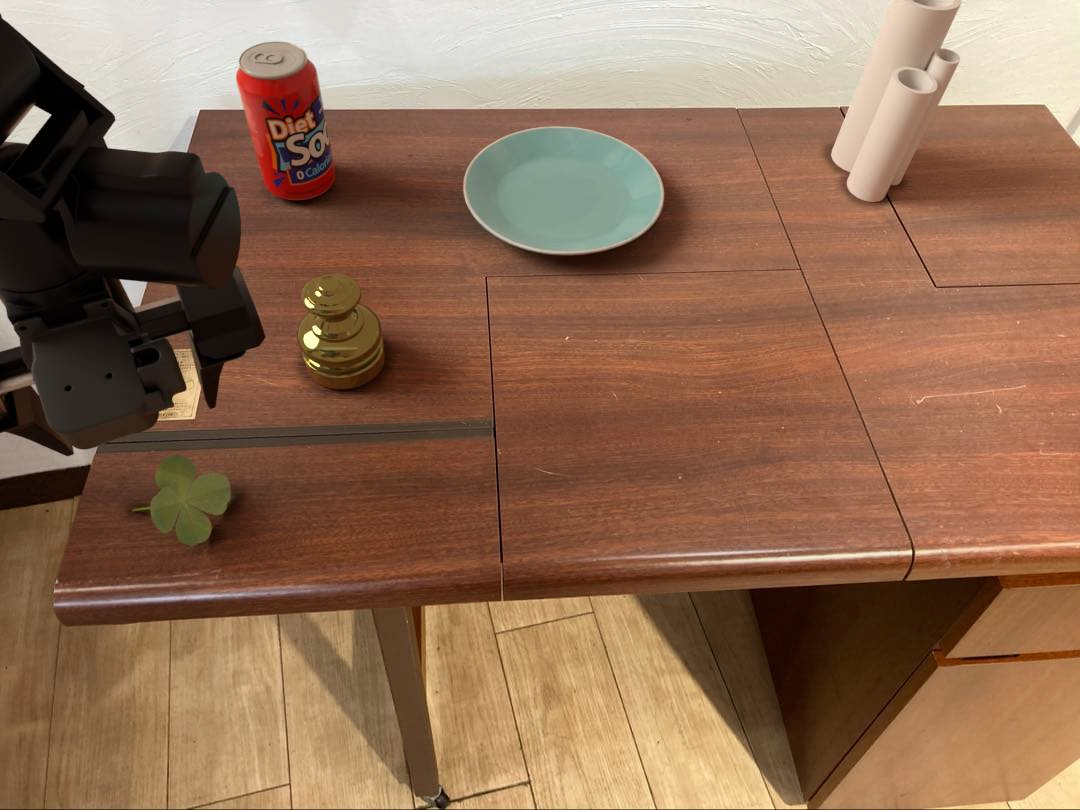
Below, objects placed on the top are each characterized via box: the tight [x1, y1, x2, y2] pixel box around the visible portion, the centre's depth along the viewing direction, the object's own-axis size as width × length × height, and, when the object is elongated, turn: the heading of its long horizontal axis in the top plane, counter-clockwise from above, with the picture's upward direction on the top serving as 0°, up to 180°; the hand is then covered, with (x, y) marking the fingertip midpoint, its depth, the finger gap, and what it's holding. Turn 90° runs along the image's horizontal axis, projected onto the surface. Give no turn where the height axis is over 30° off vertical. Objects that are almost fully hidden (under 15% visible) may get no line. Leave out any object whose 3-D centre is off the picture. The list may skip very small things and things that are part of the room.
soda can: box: [235, 41, 336, 201], centre depth 85 cm, size 8×8×15 cm
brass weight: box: [296, 272, 386, 390], centre depth 72 cm, size 7×7×10 cm
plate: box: [462, 125, 665, 256], centre depth 90 cm, size 22×22×3 cm
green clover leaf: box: [131, 454, 232, 547], centre depth 64 cm, size 7×8×7 cm
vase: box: [830, 0, 962, 203], centre depth 90 cm, size 11×7×20 cm, turn 8°
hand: (142, 426), depth 55 cm, fingers open, 9 cm apart
